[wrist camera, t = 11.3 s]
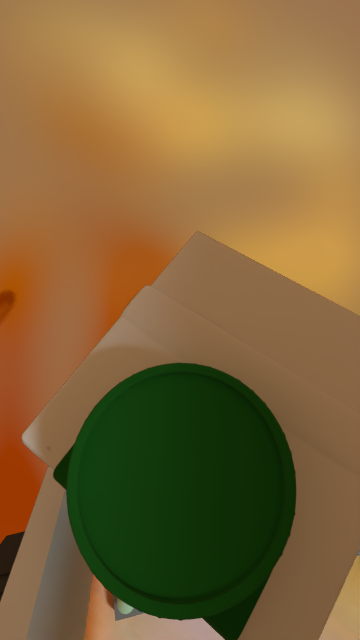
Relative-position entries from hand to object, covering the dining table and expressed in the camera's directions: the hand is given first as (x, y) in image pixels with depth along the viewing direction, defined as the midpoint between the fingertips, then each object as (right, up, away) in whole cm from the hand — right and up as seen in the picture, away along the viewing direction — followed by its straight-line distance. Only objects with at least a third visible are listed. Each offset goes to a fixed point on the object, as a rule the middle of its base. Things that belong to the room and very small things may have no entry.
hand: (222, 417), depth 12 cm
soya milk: (+1, -6, +12) cm, 14 cm away
